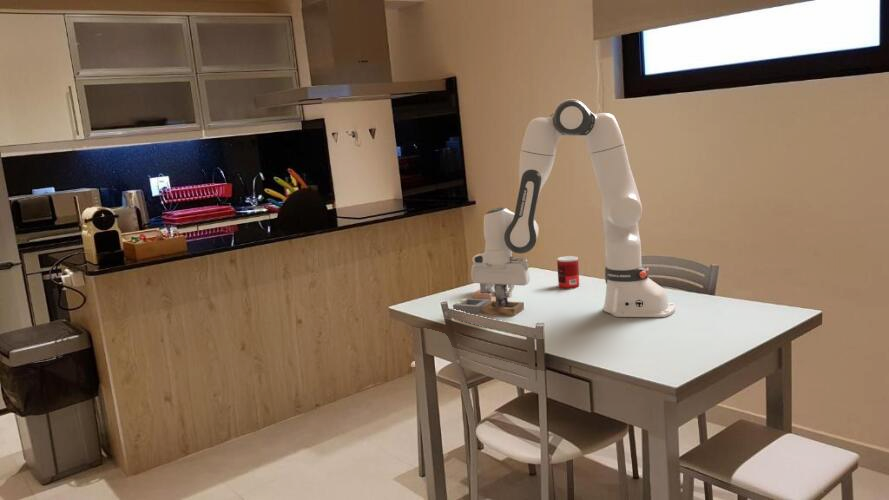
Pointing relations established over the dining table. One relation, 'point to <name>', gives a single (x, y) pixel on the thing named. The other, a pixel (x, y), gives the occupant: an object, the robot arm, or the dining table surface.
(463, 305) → the grey square tray
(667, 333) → the dining table surface
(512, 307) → the trough
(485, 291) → the cell
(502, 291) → the cell
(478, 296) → the pink square tray
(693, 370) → the dining table surface
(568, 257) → the canned food
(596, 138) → the robot arm
